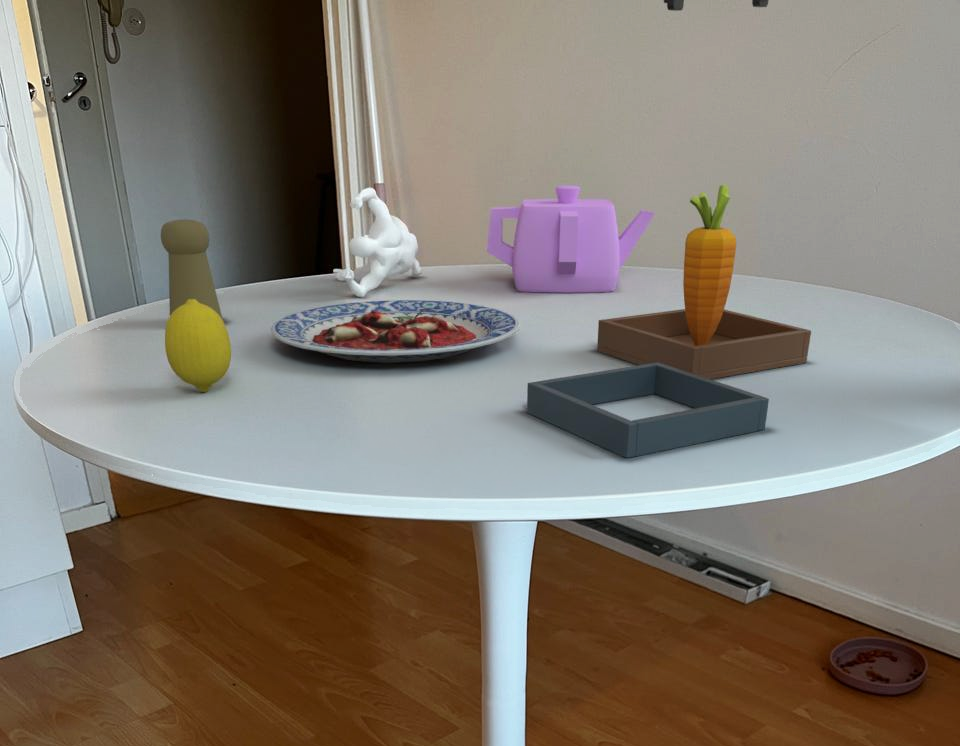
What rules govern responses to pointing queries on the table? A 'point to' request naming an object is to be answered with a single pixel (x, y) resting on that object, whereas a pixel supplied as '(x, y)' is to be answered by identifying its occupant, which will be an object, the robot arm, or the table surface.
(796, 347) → the walnut tray
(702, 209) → the carrot
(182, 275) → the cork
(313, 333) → the ceramic plate
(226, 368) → the lemon
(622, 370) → the dark blue-gray square frame
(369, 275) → the person figurine
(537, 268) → the teakettle
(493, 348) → the table surface
